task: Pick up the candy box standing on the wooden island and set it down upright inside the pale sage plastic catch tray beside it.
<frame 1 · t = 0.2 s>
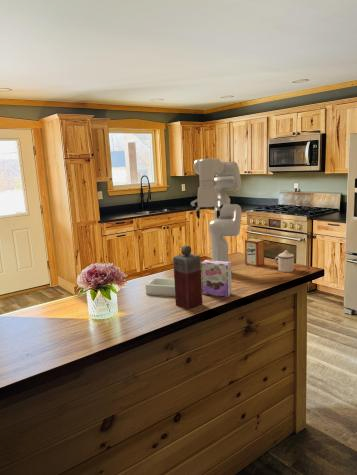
hand: (208, 218, 191), 36 cm above the countertop, tool pointing down, fingers open, 9 cm apart
red canister with lid: (187, 304, 175), on the countertop
catch tray: (168, 291, 194), on the countertop
candy box: (216, 294, 187), on the countertop
baking soda box: (254, 264, 235), on the countertop
teacup with lid: (283, 270, 221), on the countertop
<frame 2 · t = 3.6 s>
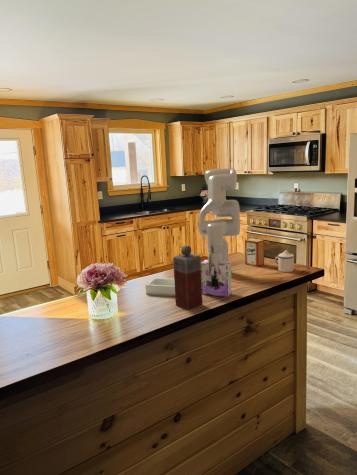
hand: (216, 283, 186), 5 cm above the countertop, tool pointing down, fingers closed on candy box, 6 cm apart
candy box: (216, 294, 187), on the countertop, touching gripper
everything else where it was.
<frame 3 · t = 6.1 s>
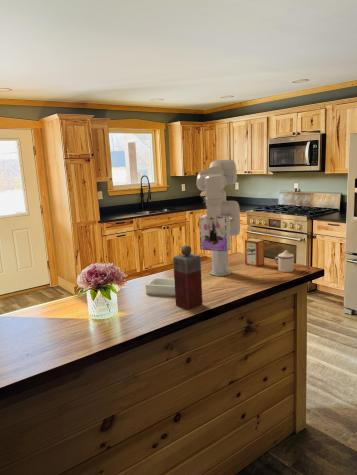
hand: (215, 239, 182), 28 cm above the countertop, tool pointing down, fingers closed on candy box, 6 cm apart
candy box: (215, 249, 183), point 22 cm above the countertop, touching gripper
everything else where it was.
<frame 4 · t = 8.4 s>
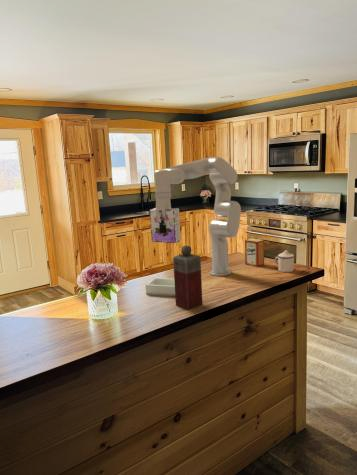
hand: (165, 231, 188), 31 cm above the countertop, tool pointing down, fingers closed on candy box, 6 cm apart
candy box: (166, 241, 189), point 26 cm above the countertop, touching gripper
everything else where it was.
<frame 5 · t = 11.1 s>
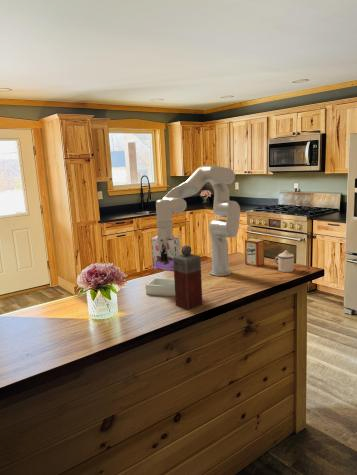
hand: (166, 259, 191), 17 cm above the countertop, tool pointing down, fingers closed on candy box, 6 cm apart
candy box: (167, 269, 192), point 12 cm above the countertop, touching gripper
everything else where it was.
when the fingers open (7 cm above the countertop, at t = 13.5 s): candy box drops 1 cm, resting on catch tray.
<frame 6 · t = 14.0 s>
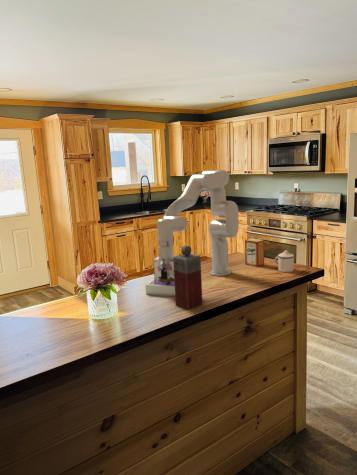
hand: (167, 276, 192), 8 cm above the countertop, tool pointing down, fingers open, 9 cm apart
candy box: (169, 289, 194), point 1 cm above the countertop, touching catch tray
everything else where it was.
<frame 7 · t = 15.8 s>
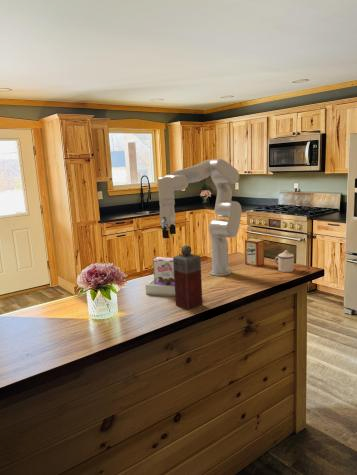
hand: (169, 236, 189), 29 cm above the countertop, tool pointing down, fingers open, 9 cm apart
nothing on the countertop moved.
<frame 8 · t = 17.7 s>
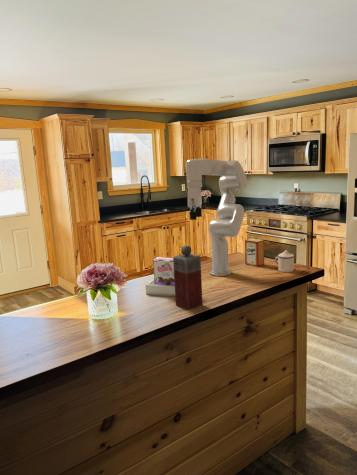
hand: (196, 218, 193), 36 cm above the countertop, tool pointing down, fingers open, 9 cm apart
nothing on the countertop moved.
at the end: candy box inside the target area on the catch tray (0.1 cm from its centre), point 0.8 cm above the catch tray's base; candy box tilted 0°; the gripper is holding nothing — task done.
